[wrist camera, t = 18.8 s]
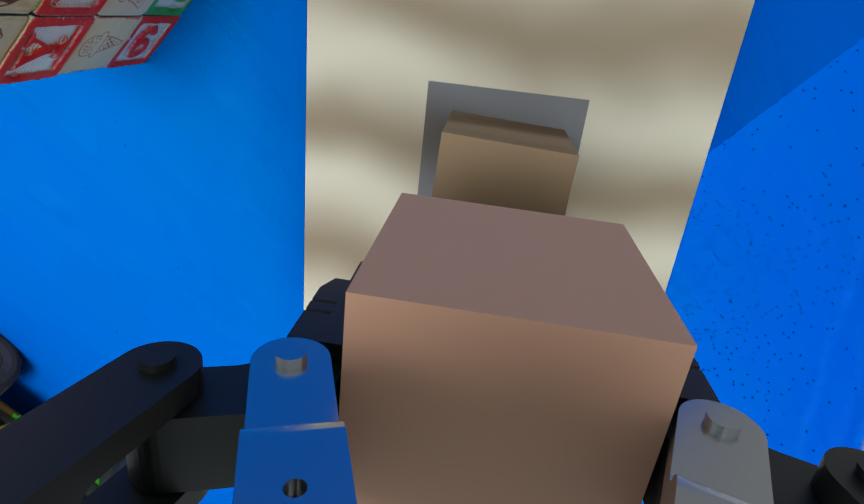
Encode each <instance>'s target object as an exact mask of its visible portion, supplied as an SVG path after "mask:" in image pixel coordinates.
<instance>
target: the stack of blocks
mask: <svg viewBox="0 0 864 504" xmlns="http://www.w3.org/2000/svg"><path fill="white" fill-rule="evenodd" d="M191 1H192V0H0V84H11V83H15V82H24V81H29V80H39V79H42V78H49V77H54V76H55V75H57V74H66V73H71V72H77V71H84V70H92V69H98V68H103V67H105V68H108V67H109V68H112V67H118V66H125V65H133V64H141V63H144V62H146V61H147V60H148V58H149V57H150V56H151V55H152V53H153V52H154V51H155V49H156V48H157V47H158V46H159V44H160V43H161V42H162V40H163V39H164V38H165V37H166V35H167V34H168V33H169V31H170V30H171V29H172V27H173V26H174V25H175V23H176V22H177V21H178V20H179V18H180V15H181V14H182V13H183V11H184V10H185V9H186V8H187V6H188V5H189V4H190V2H191Z"/></svg>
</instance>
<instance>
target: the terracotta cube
mask: <svg viewBox="0 0 864 504" xmlns="http://www.w3.org/2000/svg"><path fill="white" fill-rule="evenodd" d="M696 349H697V345H696V343H695V341H694V340H693V338H692V336H691V335H690V333H689V331H688V330H687V328H686V326H685V325H684V323H683V321H682V320H681V318H680V317H679V315H678V313H677V312H676V310H675V308H674V307H673V305H672V303H671V302H670V300H669V298H668V297H667V295H666V293H665V292H664V290H663V289H662V287H661V285H660V284H659V282H658V280H657V279H656V277H655V275H654V274H653V272H652V270H651V269H650V267H649V265H648V264H647V262H646V260H645V259H644V257H643V256H642V254H641V252H640V251H639V249H638V247H637V246H636V244H635V242H634V241H633V239H632V237H631V236H630V234H629V232H628V231H627V229H626V228H625V226H624V224H618V223H611V222H604V221H597V220H590V219H583V218H576V217H569V216H562V215H555V214H548V213H541V212H534V211H527V210H520V209H513V208H506V207H499V206H492V205H485V204H478V203H471V202H464V201H457V200H450V199H443V198H436V197H429V196H422V195H415V194H408V193H401V195H400V197H399V199H398V200H397V202H396V204H395V206H394V207H393V209H392V211H391V213H390V215H389V216H388V218H387V220H386V222H385V223H384V225H383V227H382V229H381V230H380V232H379V234H378V236H377V238H376V239H375V241H374V243H373V245H372V246H371V248H370V250H369V252H368V253H367V255H366V257H365V259H364V261H363V262H362V264H361V266H360V268H359V269H358V271H357V273H356V275H355V276H354V278H353V280H352V282H351V284H350V285H349V287H348V289H347V291H346V297H345V314H344V332H343V350H342V368H341V386H340V404H339V421H340V420H344V422H345V426H346V431H347V438H348V445H349V452H350V459H351V466H352V473H353V480H354V487H355V493H356V500H357V504H641V502H642V500H643V497H644V494H645V491H646V488H647V486H648V483H649V480H650V477H651V474H652V472H653V469H654V466H655V463H656V461H657V458H658V455H659V452H660V449H661V447H662V444H663V441H664V438H665V436H666V433H667V430H668V427H669V424H670V422H671V419H672V416H673V413H674V410H675V408H676V405H677V402H678V399H679V397H680V394H681V391H682V388H683V385H684V383H685V380H686V377H687V374H688V372H689V369H690V366H691V363H692V360H693V358H694V355H695V352H696Z"/></svg>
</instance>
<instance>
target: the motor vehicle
mask: <svg viewBox="0 0 864 504" xmlns="http://www.w3.org/2000/svg"><path fill="white" fill-rule="evenodd" d="M21 366H22V358H21V357H20V354H19V350H18V349H17V348H15V347H14V346H13V345H12V344H11V343H10V342H9V341H8V340H7V339H6V338H4V337H3V336H2V335H0V395H2V394H3V393H4V392H5V391H6V390H7V389H8V388H9V387H11V386H12V384H13V382H15V381H16V380H17V379H18V377H19V376H20V370H21ZM21 416H22V415H21V414H20V413H18V412H17V411H15V410H14V409H13V408H11V407H10V406H9V405H7V404H6V403H4V402H3V401H2V400H0V429H1V428H3V427H5V426H6V425H8V424H10V423H11V422H13V421H15V420H16V419H18V418H20V417H21ZM126 464H127V462H126V456H125V457H124V458H123V459H122V460H120V461H119V462H118V463H117V464H115V465H114V466H113V467H112V468H110V469H109V470H108V471H107V472H105V473H104V474H103V475H102V476H101V478H100V477H99V478H98V479H97V480H96V481H95V482H94V483H93V484H92V485H91V487H90V488H89V489H88V491H87V493H86V494H85V496H84V498H83V500H84V499H85V498H86V497H87V496H89V495H90V494H91V493H92V492H93V491H95V490H96V489H97V488H98V487H99V486H101V485H102V484H103V483H104V482H106V481H107V480H108V479H109V478H110V477H112V476H113V475H114V474H115V473H116V472H118V471H119V470H120V469H121V468H123V467H124V466H125V465H126Z"/></svg>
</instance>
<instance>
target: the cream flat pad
mask: <svg viewBox="0 0 864 504" xmlns="http://www.w3.org/2000/svg"><path fill="white" fill-rule="evenodd" d="M754 2H755V0H308V3H307V88H306V172H305V257H304V310H306V307H307V306H308V304H309V303H310V301H312V298H313V297H314V295H315V294H316V292H317V291H318V289H319V288H320V287H321V286H322V285H324V284H326V283H328V282H329V281H331V280H333V279H335V278H339V279H346V280H350V279H351V277H352V276H353V274H354V272H355V270H356V269H357V267H358V265H359V263H360V262H361V261H364V259H365V257H366V255H367V253H368V252H369V250H370V248H371V246H372V245H373V243H374V241H375V239H376V238H377V236H378V234H379V232H380V230H381V229H382V227H383V225H384V223H385V222H386V220H387V218H388V216H389V215H390V213H391V211H392V209H393V207H394V206H395V204H396V202H397V200H398V199H399V197H400V195H401V193H408V194H415V195H422V196H429V197H432V192H433V186H434V180H435V173H436V167H437V160H438V154H439V147H440V141H441V135H442V131H443V129H444V127H445V125H446V123H447V121H448V119H449V117H450V115H451V113H452V111H457V112H463V113H469V114H475V115H481V116H486V117H492V118H498V119H504V120H510V121H516V122H522V123H527V124H533V125H539V126H545V127H551V128H557V129H563V130H565V132H566V134H567V135H568V137H569V139H570V140H571V142H572V144H573V146H574V147H575V149H576V151H577V152H578V154H579V160H578V163H577V167H576V171H575V175H574V179H573V183H572V186H571V190H570V194H569V198H568V202H567V205H566V209H565V213H564V216H569V217H576V218H583V219H590V220H597V221H604V222H611V223H618V224H624V226H625V228H626V229H627V231H628V232H629V234H630V236H631V237H632V239H633V241H634V242H635V244H636V246H637V247H638V249H639V251H640V252H641V254H642V256H643V257H644V259H645V260H646V262H647V264H648V265H649V267H650V269H651V270H652V272H653V274H654V275H655V277H656V279H657V280H658V282H659V284H660V285H661V287H662V289H663V290H664V292H665V291H666V287H667V284H668V281H669V278H670V274H671V271H672V268H673V265H674V261H675V258H676V255H677V252H678V248H679V245H680V242H681V239H682V235H683V232H684V229H685V226H686V222H687V219H688V216H689V213H690V209H691V206H692V203H693V200H694V196H695V193H696V190H697V187H698V183H699V180H700V177H701V174H702V170H703V167H704V164H705V161H706V158H707V154H708V151H709V148H710V145H711V141H712V138H713V135H714V132H715V128H716V125H717V122H718V119H719V115H720V112H721V109H722V106H723V102H724V99H725V96H726V93H727V89H728V86H729V83H730V80H731V76H732V73H733V70H734V67H735V63H736V60H737V57H738V54H739V50H740V47H741V44H742V41H743V38H744V34H745V31H746V28H747V25H748V21H749V18H750V15H751V12H752V8H753V5H754Z"/></svg>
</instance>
